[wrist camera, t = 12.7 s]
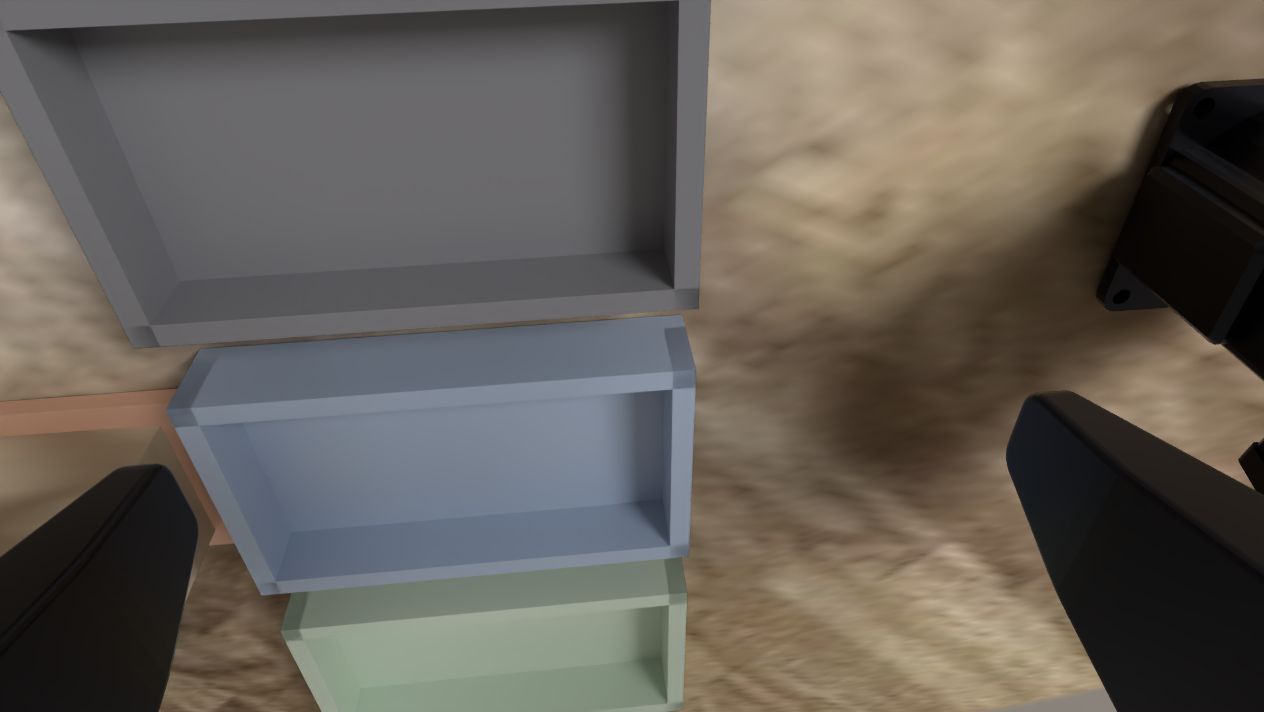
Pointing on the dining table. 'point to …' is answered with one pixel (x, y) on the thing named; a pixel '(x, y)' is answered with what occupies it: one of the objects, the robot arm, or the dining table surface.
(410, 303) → the charcoal tray
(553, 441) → the slate tray
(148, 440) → the letter cube
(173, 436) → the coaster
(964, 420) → the dining table surface
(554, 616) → the green tray
